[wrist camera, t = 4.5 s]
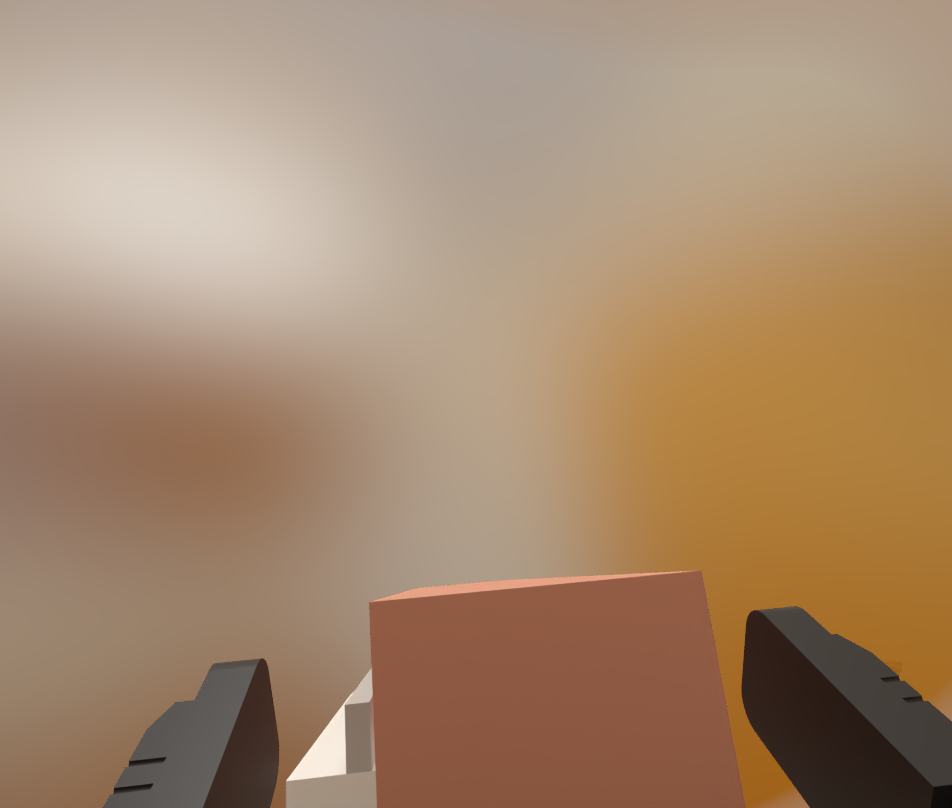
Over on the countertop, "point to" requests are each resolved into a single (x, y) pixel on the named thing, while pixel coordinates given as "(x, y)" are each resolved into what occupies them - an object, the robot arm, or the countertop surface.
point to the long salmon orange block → (551, 695)
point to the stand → (340, 759)
